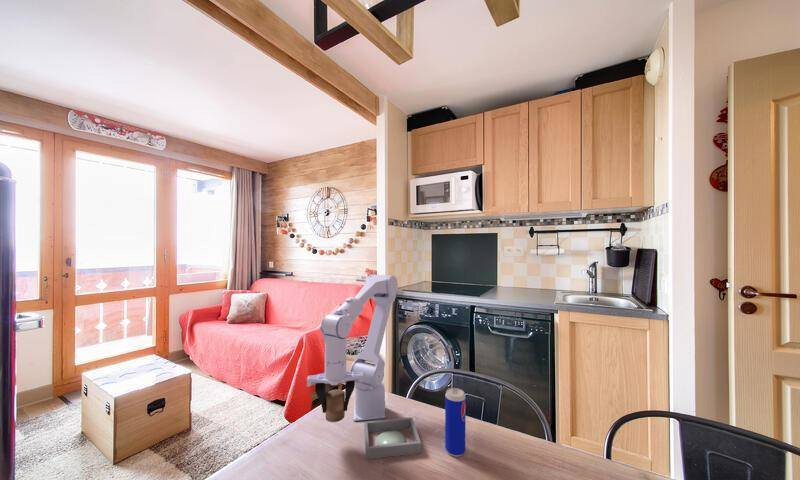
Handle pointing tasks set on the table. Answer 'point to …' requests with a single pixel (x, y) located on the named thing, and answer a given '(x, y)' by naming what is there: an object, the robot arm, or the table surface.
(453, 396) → the beverage can
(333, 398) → the walnut cylinder
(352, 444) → the table surface
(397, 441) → the coaster
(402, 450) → the grey rectangular frame
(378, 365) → the robot arm
